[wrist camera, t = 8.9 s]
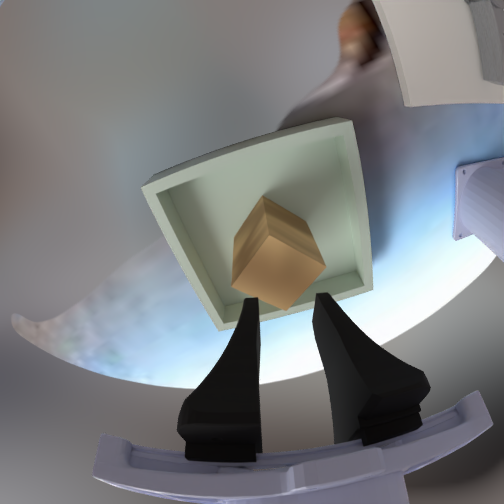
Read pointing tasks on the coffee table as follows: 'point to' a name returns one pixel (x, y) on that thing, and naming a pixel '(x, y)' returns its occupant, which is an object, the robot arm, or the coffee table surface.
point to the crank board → (436, 52)
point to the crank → (490, 37)
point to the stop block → (275, 255)
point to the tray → (279, 191)
